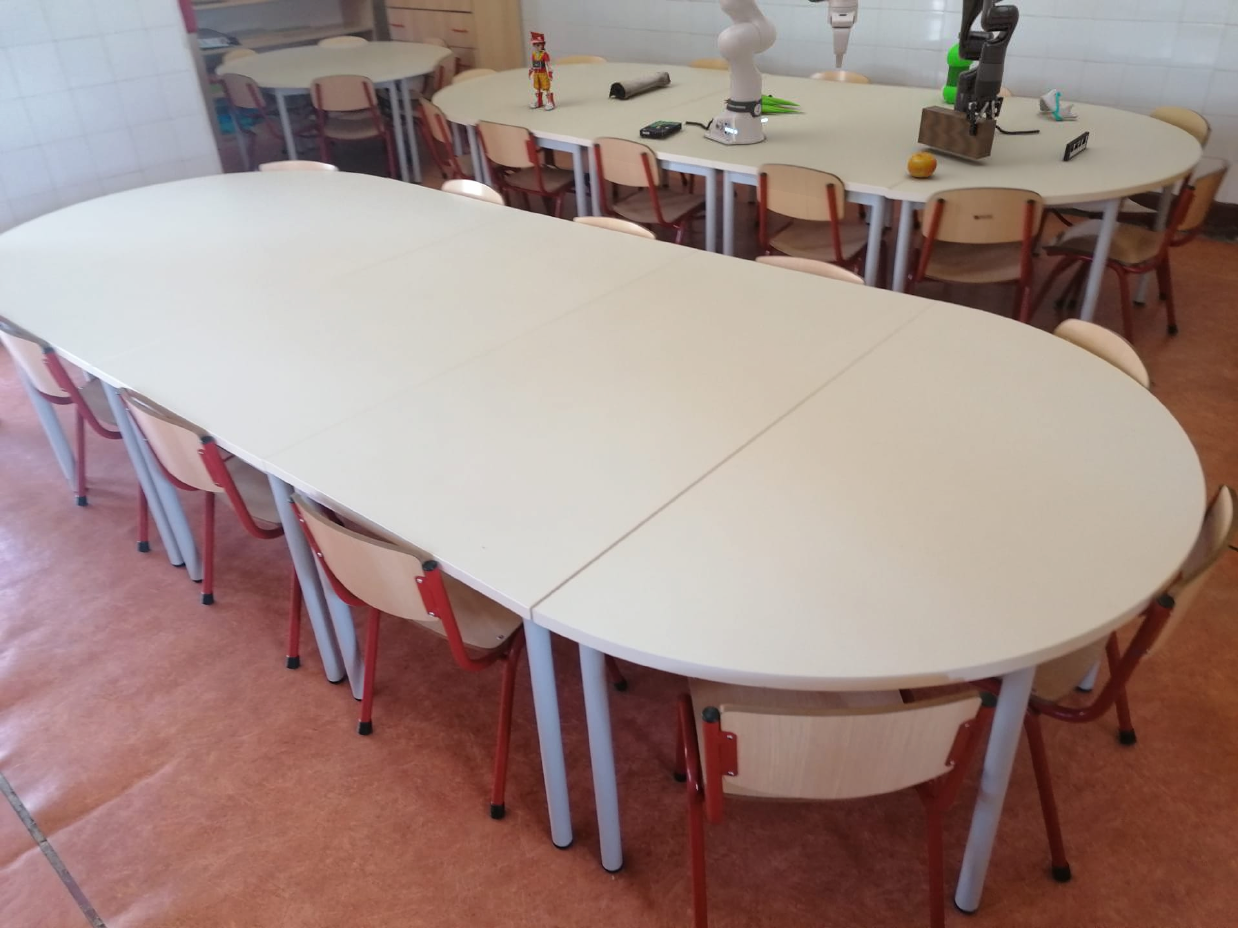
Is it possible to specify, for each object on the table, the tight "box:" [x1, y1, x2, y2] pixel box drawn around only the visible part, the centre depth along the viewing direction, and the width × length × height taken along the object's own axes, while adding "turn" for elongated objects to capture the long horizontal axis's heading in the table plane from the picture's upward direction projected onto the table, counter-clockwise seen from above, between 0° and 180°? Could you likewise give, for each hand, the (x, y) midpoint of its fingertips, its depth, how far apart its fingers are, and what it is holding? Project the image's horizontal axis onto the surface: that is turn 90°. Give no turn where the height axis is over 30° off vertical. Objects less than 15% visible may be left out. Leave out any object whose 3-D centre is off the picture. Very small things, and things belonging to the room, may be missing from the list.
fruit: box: [907, 151, 938, 179], centre depth 280 cm, size 8×8×8 cm
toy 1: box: [527, 31, 556, 111], centre depth 374 cm, size 12×9×30 cm
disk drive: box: [639, 120, 683, 140], centre depth 338 cm, size 10×3×15 cm
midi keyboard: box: [1062, 131, 1091, 161], centre depth 291 cm, size 18×1×5 cm, turn 138°
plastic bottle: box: [942, 31, 974, 104], centre depth 348 cm, size 10×10×25 cm
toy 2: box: [761, 93, 804, 114], centre depth 358 cm, size 28×5×30 cm
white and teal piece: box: [1038, 88, 1078, 121], centre depth 328 cm, size 15×10×10 cm
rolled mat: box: [608, 71, 672, 101], centre depth 395 cm, size 30×9×10 cm
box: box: [917, 105, 998, 160], centre depth 293 cm, size 26×6×11 cm, turn 30°
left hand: (838, 64), depth 283 cm, fingers open, 8 cm apart
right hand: (979, 133), depth 285 cm, fingers closed on box, 6 cm apart
